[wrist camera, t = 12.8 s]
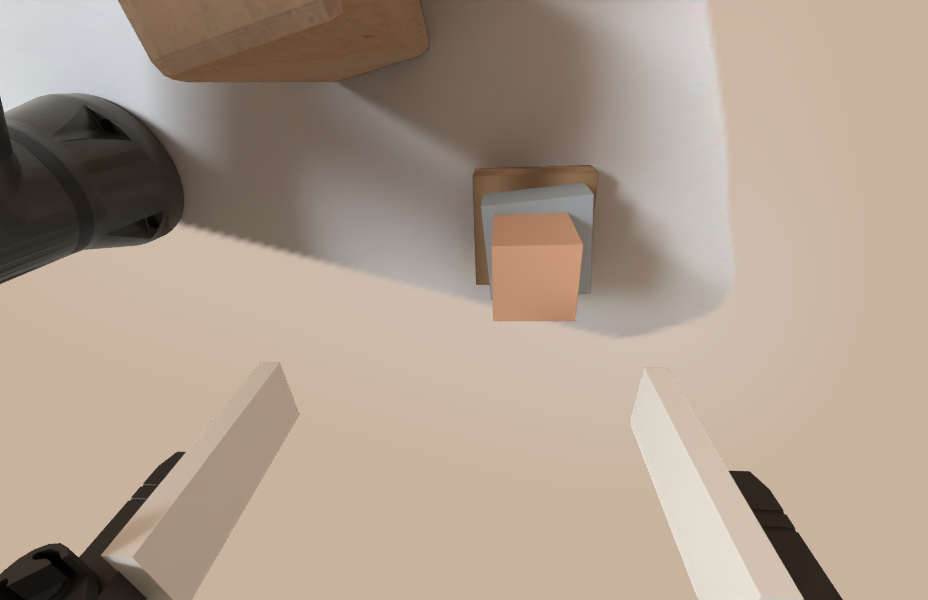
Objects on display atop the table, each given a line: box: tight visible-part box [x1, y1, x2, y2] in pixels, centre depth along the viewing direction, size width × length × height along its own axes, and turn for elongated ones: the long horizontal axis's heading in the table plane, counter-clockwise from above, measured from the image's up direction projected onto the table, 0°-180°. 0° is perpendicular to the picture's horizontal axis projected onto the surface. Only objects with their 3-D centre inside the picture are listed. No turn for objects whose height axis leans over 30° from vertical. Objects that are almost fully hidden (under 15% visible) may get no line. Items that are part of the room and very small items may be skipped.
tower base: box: [473, 165, 599, 285], centre depth 38 cm, size 11×11×4 cm
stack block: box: [491, 212, 583, 321], centre depth 29 cm, size 6×6×7 cm
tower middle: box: [481, 182, 594, 300], centre depth 34 cm, size 9×9×4 cm
